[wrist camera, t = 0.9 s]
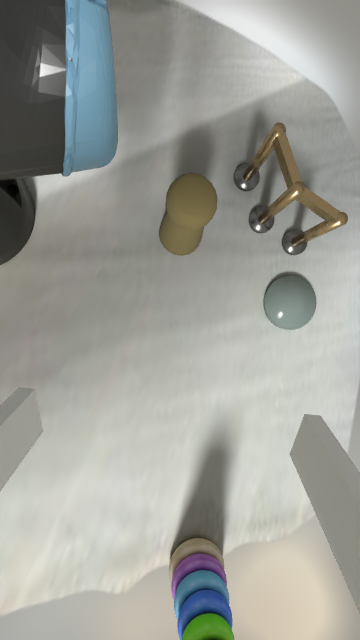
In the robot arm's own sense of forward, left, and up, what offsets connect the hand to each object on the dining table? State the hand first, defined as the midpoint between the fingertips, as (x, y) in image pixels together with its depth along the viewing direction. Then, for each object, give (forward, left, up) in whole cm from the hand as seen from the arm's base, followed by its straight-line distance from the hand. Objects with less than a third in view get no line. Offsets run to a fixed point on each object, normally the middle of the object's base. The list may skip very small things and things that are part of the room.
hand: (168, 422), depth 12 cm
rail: (+4, +26, -21) cm, 34 cm away
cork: (-6, +16, -22) cm, 27 cm away
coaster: (+13, +16, -21) cm, 30 cm away
